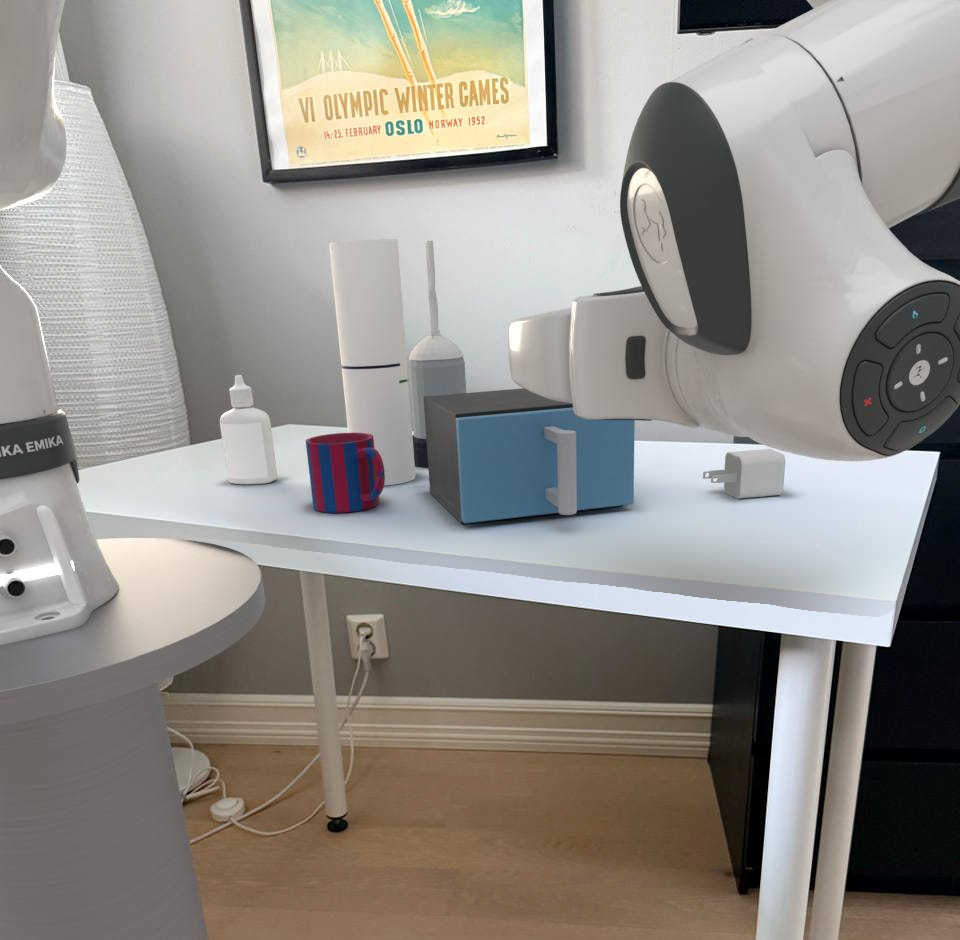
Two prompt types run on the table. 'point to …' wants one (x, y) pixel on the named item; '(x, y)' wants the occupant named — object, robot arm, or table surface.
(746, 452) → the usb wall charger
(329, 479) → the mug
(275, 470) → the eye dropper bottle
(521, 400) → the dark grey cabinet
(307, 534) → the table surface
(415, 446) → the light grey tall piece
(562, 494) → the drawer
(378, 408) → the cylindrical container
